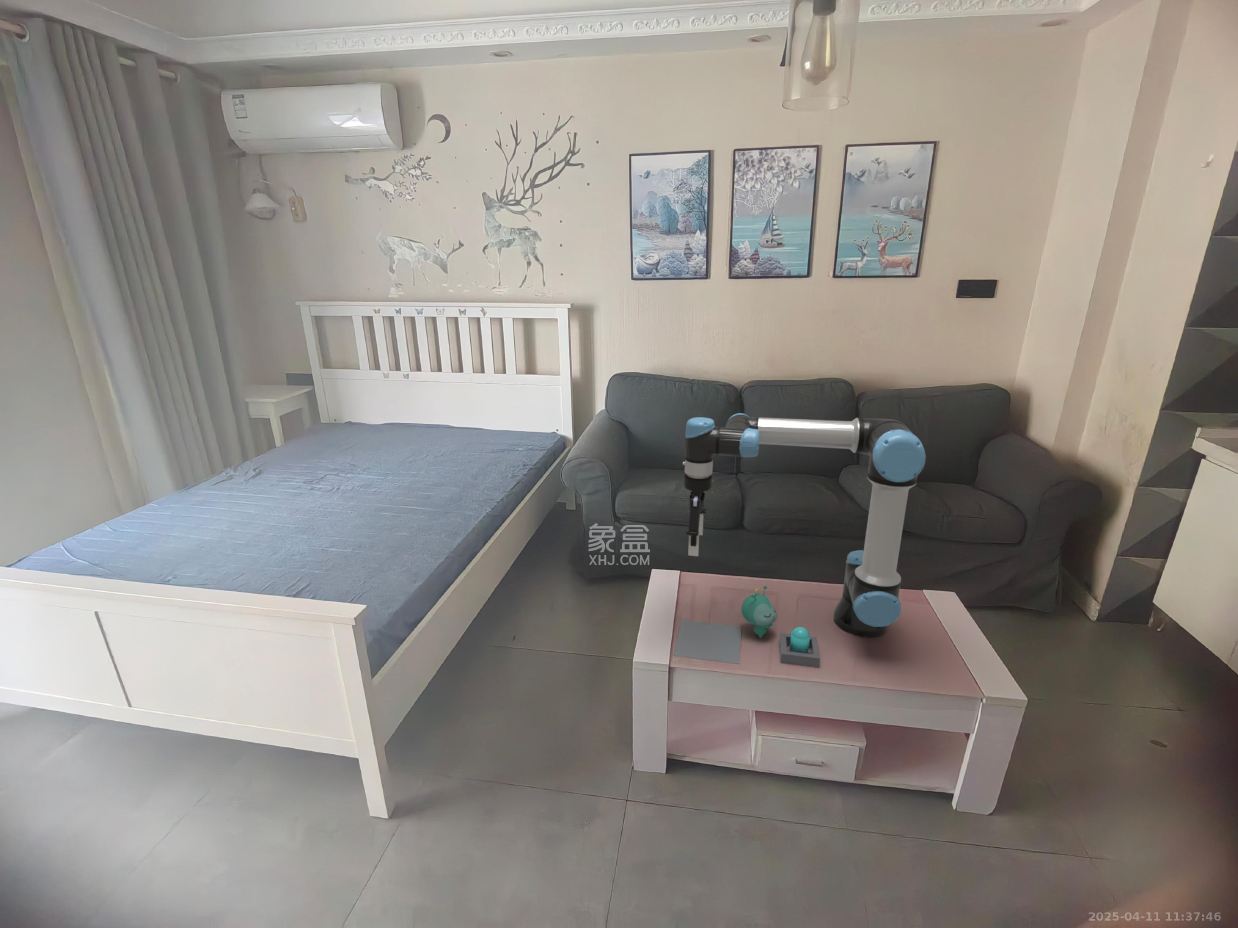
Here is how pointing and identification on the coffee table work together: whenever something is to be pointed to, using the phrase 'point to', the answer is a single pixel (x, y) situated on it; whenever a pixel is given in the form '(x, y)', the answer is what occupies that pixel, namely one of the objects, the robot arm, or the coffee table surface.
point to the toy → (759, 612)
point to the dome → (799, 640)
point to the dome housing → (797, 657)
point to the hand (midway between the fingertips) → (695, 544)
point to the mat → (708, 641)
